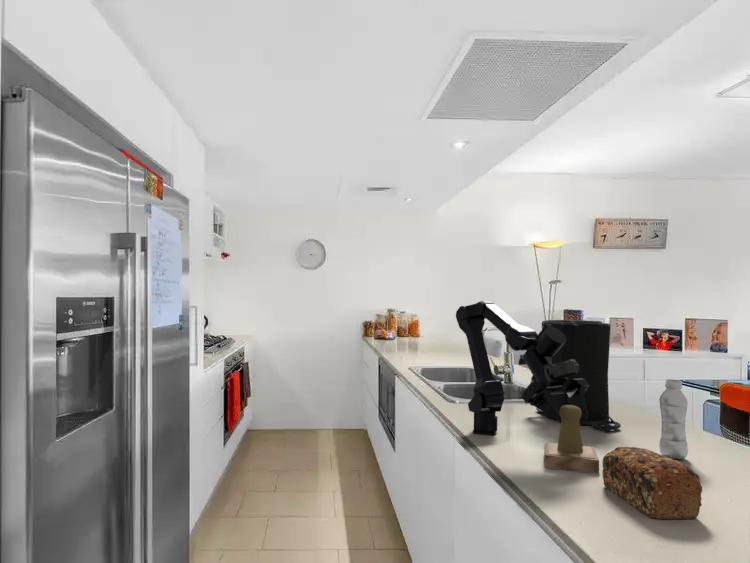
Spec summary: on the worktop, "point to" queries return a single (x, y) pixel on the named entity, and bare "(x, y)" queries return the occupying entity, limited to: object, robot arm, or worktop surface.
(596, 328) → the coffee maker
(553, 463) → the plate
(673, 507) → the bread
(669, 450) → the plastic bottle
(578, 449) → the cork
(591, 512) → the worktop surface
